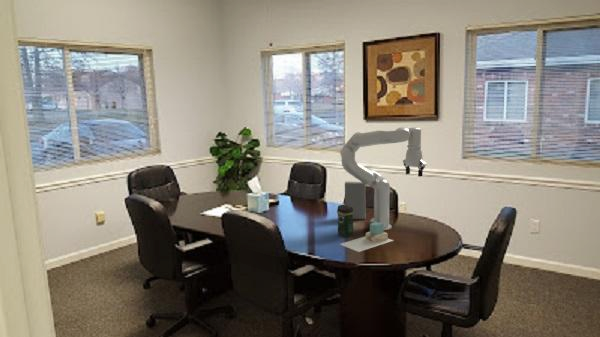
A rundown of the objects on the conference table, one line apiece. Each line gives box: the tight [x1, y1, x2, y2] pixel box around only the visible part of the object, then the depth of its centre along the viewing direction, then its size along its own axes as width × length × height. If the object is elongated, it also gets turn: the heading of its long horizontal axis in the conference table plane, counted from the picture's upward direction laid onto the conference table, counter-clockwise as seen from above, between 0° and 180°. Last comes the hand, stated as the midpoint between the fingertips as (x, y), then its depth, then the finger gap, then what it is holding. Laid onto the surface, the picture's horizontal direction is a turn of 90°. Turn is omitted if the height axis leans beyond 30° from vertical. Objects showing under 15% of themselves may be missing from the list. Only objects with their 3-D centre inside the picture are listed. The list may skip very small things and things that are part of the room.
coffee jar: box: [336, 204, 354, 238], centre depth 273 cm, size 10×8×19 cm
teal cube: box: [369, 222, 384, 235], centre depth 263 cm, size 6×6×6 cm
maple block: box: [365, 231, 389, 243], centre depth 264 cm, size 9×9×4 cm
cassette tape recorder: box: [344, 181, 367, 220], centre depth 307 cm, size 14×6×25 cm, turn 80°
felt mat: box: [339, 235, 395, 253], centre depth 260 cm, size 16×28×1 cm, turn 127°
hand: (413, 175), depth 281 cm, fingers open, 9 cm apart
